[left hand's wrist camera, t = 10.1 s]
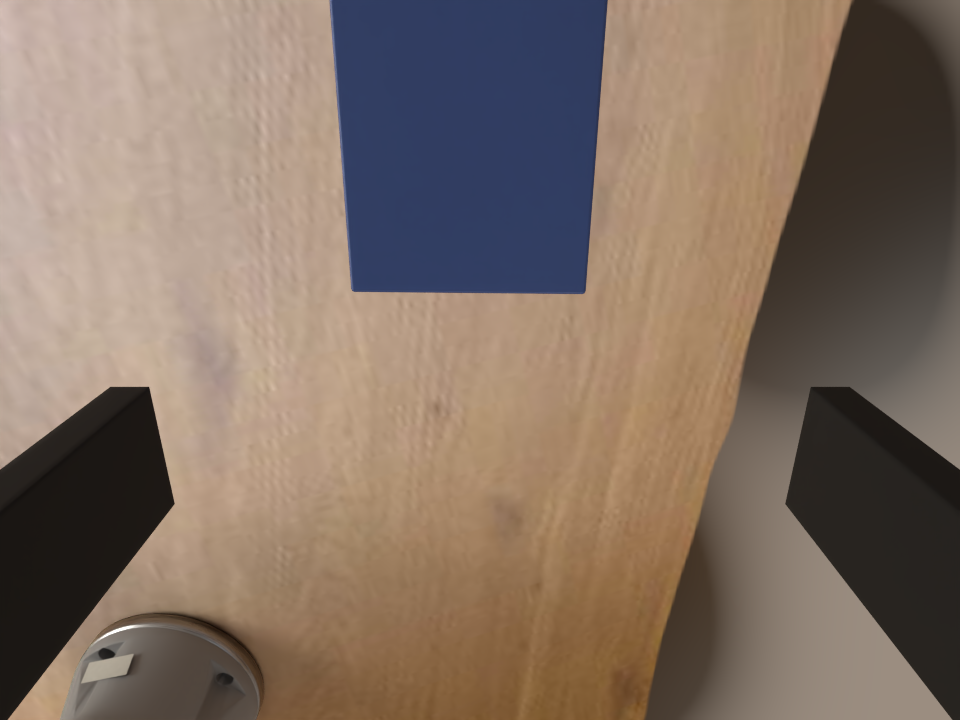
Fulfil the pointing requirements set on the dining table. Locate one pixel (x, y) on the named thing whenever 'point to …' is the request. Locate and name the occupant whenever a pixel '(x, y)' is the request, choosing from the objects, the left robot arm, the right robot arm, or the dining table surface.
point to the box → (468, 142)
